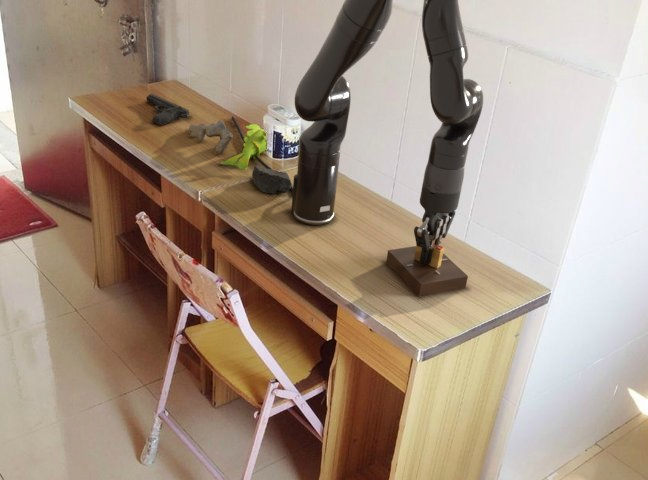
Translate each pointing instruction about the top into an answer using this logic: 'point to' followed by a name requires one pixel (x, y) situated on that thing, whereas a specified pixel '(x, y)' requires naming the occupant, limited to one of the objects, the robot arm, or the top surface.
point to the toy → (250, 147)
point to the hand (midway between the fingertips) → (427, 260)
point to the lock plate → (426, 272)
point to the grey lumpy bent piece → (213, 134)
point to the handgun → (166, 110)
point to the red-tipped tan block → (436, 255)
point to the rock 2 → (271, 180)
